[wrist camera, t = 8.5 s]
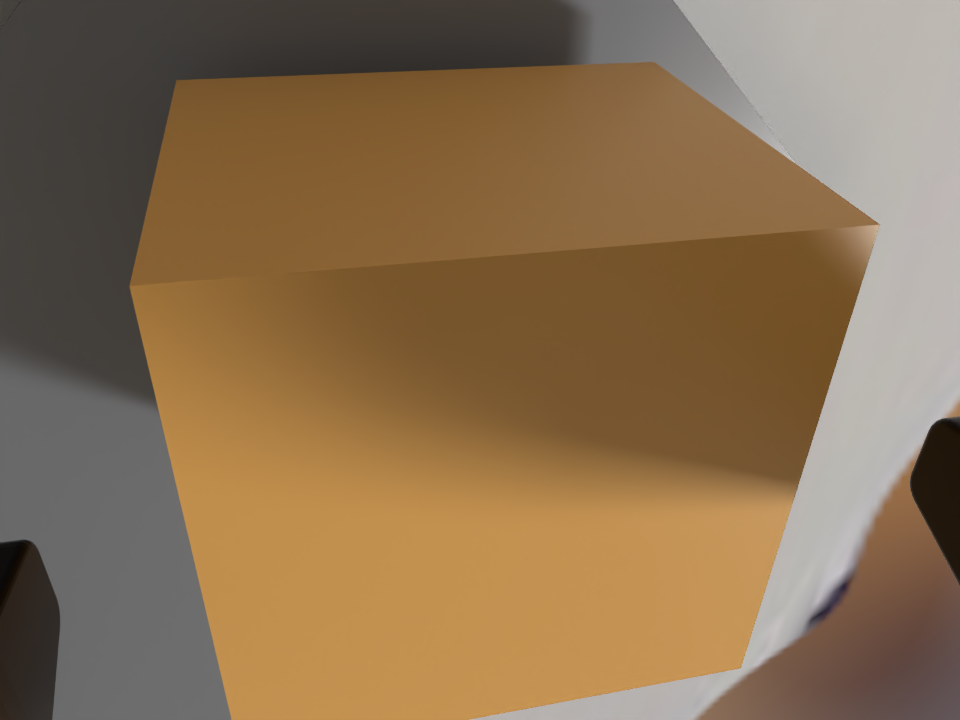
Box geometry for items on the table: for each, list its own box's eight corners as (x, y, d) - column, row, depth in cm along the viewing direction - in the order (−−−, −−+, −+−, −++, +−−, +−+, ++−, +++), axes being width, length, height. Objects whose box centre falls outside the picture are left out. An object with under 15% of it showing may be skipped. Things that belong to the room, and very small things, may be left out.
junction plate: (220, 739, 21) (218, 799, 20) (-375, 543, 14) (-432, 614, 13) (820, 221, 16) (866, 258, 15) (332, -411, 10) (345, -437, 9)
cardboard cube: (605, 420, 15) (740, 668, 11) (243, 465, 13) (242, 763, 9) (653, 61, 11) (879, 223, 7) (176, 80, 10) (129, 286, 6)
